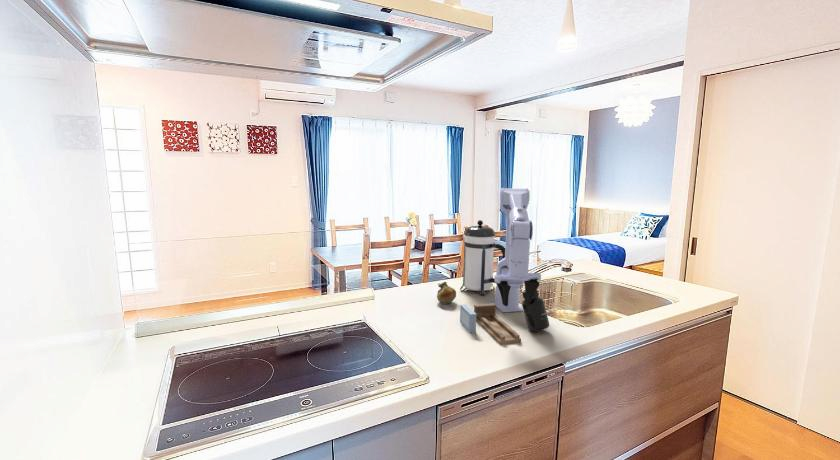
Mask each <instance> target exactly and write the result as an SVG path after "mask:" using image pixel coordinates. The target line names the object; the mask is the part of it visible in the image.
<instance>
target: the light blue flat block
mask: <svg viewBox="0 0 840 460" xmlns="http://www.w3.org/2000/svg"><path fill="white" fill-rule="evenodd" d="M459 309H460V310H459V311H460V312H459V322H460V324H461V325H462V327H464V328H465V329H466V331H468V332H469V333H476V330H477V322H476V313H475V312H474V309H472V308H471V307H470V306H469V305H468V304H466V303H465V304H460V307H459Z"/></svg>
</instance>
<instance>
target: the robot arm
mask: <svg viewBox="0 0 840 460" xmlns="http://www.w3.org/2000/svg"><path fill="white" fill-rule="evenodd" d="M530 192H531V191H530V190H529V188H508V187H507V188H505V187H502V188H501V189H500V192H499V208H500V209H499V210H500V212H502V213H504V214H505V215H504V216H505V223H506V224H505V244H504V245H505V246H504V247H505V258H504V259H503V258H502V259H501V260H500V259H499V261H498V262H497V264H496V271H495V272H496V274H495V275H494V279H495V280H494V281H495V282H496V283H495V284H496V285H495V291H494V294H495V296H494V302H493V303H494V304H495V305H496V308H497V309H499V310H500V311H501V312H503V313H514V312H524V311H523V307H520V306H519V305H520V291H521V288H522V287H521V286H524V291H525V299H524V300H525V303H527V304H530V303H531V300H532V297H533V295H534V293H535V291H536V289H537V290H538V288H539V287H540V282H541V280H542V274H541V273H539V272H529V263H530V248H531V246H530V245H531V241H532V239H533V234H534V225H533V222H532V220H530V219H529V213H528V211H527V209H528V207H529V204H530V197H531V196H530V194H531V193H530ZM502 266H507V267H502Z"/></svg>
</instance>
